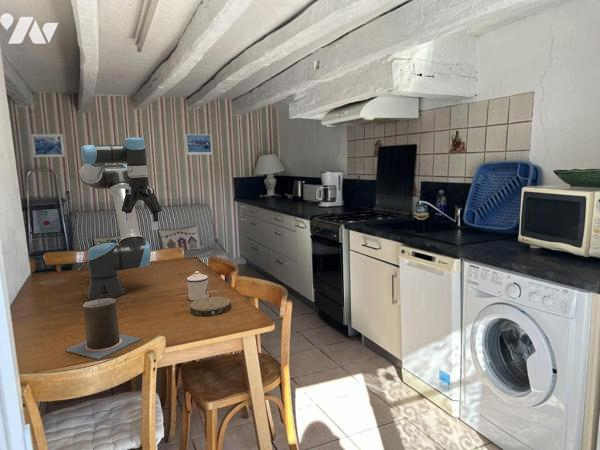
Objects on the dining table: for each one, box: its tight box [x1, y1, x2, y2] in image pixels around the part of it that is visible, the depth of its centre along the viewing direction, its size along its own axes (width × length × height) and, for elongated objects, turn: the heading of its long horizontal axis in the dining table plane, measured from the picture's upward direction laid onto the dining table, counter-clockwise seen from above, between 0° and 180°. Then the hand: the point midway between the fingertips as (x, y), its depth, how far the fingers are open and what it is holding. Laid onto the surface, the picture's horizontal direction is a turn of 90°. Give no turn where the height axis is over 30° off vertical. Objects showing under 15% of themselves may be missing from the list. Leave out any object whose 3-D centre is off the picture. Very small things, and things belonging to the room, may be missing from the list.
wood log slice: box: [189, 296, 232, 317], centre depth 169 cm, size 16×16×3 cm
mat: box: [64, 333, 142, 361], centre depth 139 cm, size 16×16×1 cm
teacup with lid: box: [186, 270, 210, 302], centre depth 186 cm, size 12×9×12 cm
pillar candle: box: [82, 298, 120, 349], centre depth 138 cm, size 10×10×15 cm
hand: (143, 229), depth 175 cm, fingers open, 13 cm apart
